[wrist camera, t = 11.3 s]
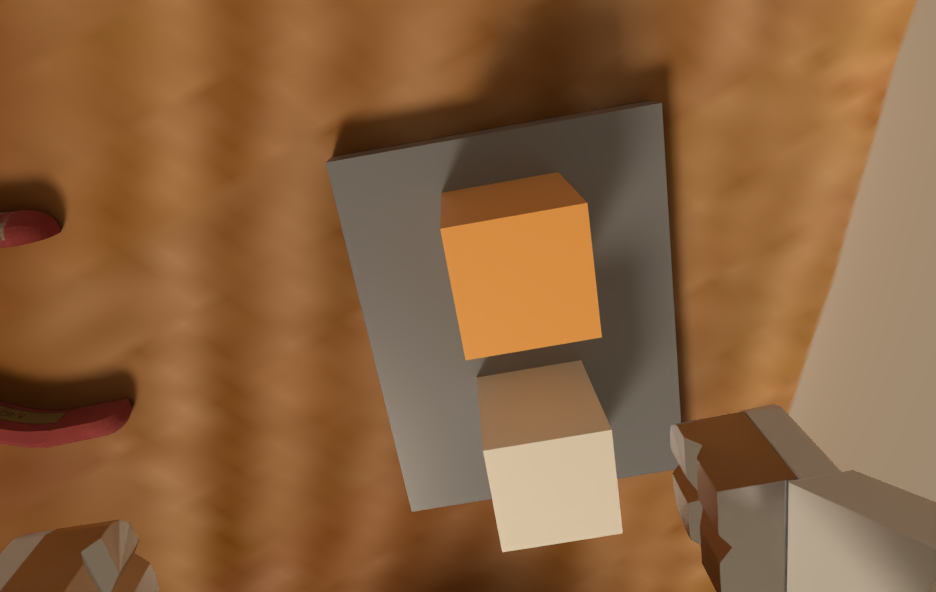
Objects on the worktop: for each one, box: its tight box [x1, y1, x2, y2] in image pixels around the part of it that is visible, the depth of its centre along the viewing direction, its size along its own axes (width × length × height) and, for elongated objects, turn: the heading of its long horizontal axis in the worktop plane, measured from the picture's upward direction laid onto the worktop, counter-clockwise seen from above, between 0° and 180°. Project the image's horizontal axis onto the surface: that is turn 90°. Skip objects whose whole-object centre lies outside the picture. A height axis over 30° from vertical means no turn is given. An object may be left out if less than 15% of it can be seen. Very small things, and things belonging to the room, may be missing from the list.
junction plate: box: [326, 100, 681, 552], centre depth 28 cm, size 18×14×8 cm
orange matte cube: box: [440, 172, 602, 360], centre depth 25 cm, size 5×5×6 cm
